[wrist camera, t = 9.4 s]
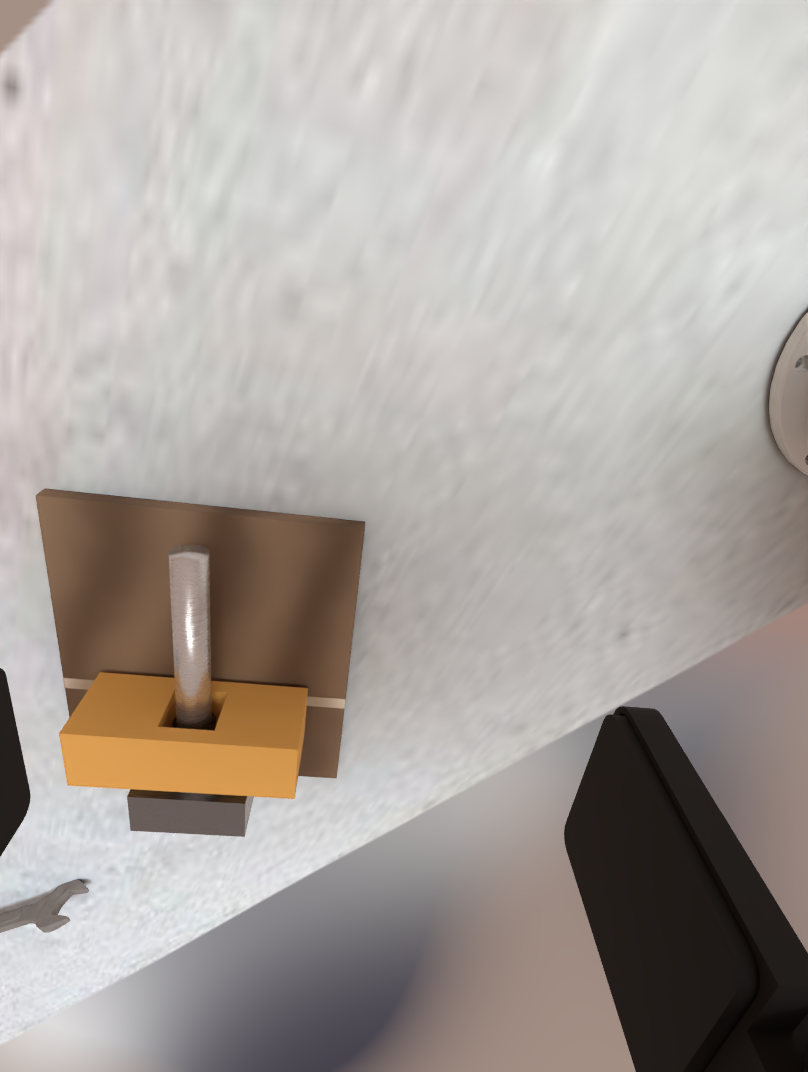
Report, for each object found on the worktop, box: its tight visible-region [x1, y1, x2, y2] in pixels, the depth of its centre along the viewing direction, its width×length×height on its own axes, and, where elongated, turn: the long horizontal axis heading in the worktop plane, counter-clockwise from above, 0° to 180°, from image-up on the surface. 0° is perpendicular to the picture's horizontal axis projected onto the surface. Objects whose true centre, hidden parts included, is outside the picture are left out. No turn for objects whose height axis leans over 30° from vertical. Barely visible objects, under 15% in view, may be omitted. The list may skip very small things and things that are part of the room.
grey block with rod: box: [127, 544, 254, 837], centre depth 35 cm, size 7×19×5 cm, turn 173°
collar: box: [59, 672, 308, 799], centre depth 36 cm, size 13×4×5 cm, turn 83°
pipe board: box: [36, 489, 365, 778], centre depth 37 cm, size 18×20×1 cm
